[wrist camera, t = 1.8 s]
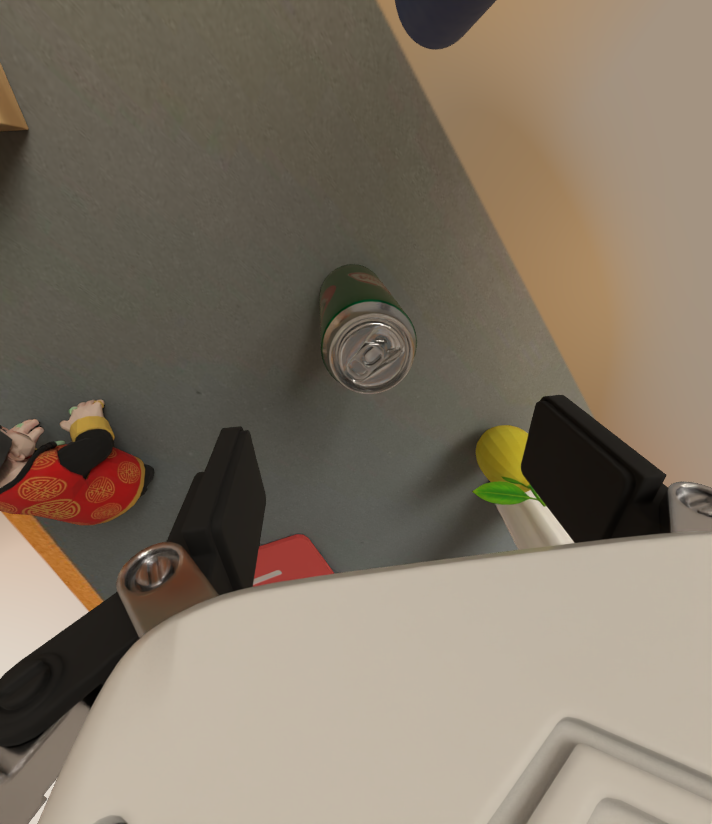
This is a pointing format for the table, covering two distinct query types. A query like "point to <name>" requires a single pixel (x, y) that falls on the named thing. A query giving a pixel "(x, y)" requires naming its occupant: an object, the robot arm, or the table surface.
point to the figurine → (70, 471)
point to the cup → (533, 524)
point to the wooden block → (9, 107)
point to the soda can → (364, 331)
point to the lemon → (503, 466)
